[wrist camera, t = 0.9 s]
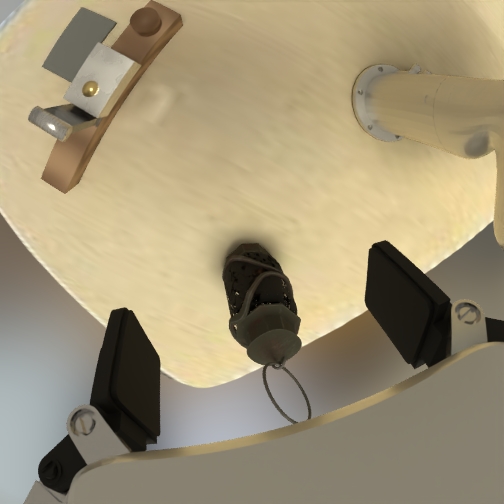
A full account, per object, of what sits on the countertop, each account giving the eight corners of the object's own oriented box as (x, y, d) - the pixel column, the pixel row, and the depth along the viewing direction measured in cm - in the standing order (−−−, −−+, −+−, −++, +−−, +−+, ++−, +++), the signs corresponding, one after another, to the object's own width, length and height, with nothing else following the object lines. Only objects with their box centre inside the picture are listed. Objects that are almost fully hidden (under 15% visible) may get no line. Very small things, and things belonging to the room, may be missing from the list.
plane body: (157, 11, 25) (147, -9, 18) (182, 25, 26) (178, 6, 20) (56, 168, 32) (30, 185, 26) (78, 182, 34) (55, 202, 27)
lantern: (207, 263, 45) (226, 433, 21) (250, 225, 43) (313, 387, 19) (248, 295, 49) (289, 447, 25) (289, 262, 47) (361, 410, 23)
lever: (75, 99, 24) (32, 106, 16) (103, 116, 26) (67, 127, 18) (69, 111, 25) (26, 122, 17) (97, 128, 27) (59, 143, 19)
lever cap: (108, 47, 22) (97, 41, 19) (141, 65, 25) (133, 61, 21) (75, 97, 24) (61, 98, 21) (107, 116, 27) (96, 118, 23)
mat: (82, 7, 21) (81, 7, 21) (117, 23, 24) (116, 22, 24) (43, 66, 24) (41, 66, 24) (74, 84, 27) (73, 83, 27)
